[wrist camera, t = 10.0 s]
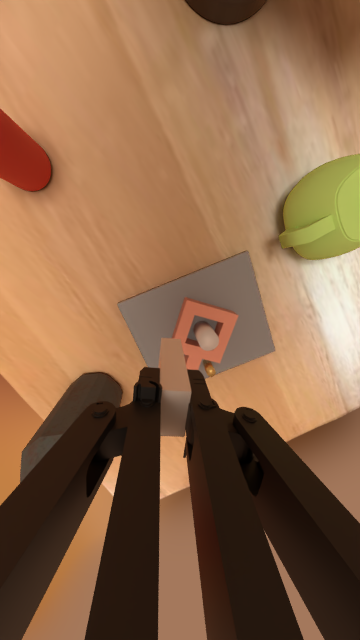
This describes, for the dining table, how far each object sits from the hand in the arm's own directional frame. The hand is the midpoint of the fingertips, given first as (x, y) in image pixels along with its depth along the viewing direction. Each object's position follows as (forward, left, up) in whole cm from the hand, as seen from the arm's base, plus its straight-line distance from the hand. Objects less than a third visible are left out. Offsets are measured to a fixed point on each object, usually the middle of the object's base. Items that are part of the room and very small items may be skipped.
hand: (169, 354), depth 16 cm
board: (-4, +7, -22) cm, 24 cm away
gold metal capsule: (-3, +14, -21) cm, 25 cm away
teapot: (-29, -4, -22) cm, 37 cm away
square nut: (-2, +10, -21) cm, 23 cm away
